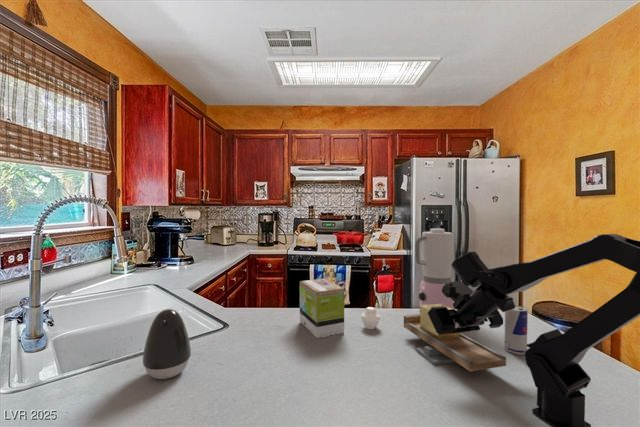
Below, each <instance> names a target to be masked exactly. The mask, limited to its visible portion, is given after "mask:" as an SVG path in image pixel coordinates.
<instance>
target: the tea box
mask: <svg viewBox="0 0 640 427" xmlns="http://www.w3.org/2000/svg"><path fill="white" fill-rule="evenodd" d="M299 323H301V324H302V325H303V326H304V327H305V328H306V329H307V330H308V331H309V332H310V333H311V334H312V335H313V336H314V338H316V339H320V338H319V337H322V338H325V337H324V336H328V337H331V336H330V335H333V336H336V335H335V334H338V335H342V334H344V333H345V287H342V286H340V285H338V284H336V283H335V282H332V281H330V280H329V279H326V278H317V279H309V280H308V279H307V280H300V281H299ZM341 333H342V334H341Z"/></svg>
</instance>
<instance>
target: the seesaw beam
mask: <svg viewBox="0 0 640 427" xmlns="http://www.w3.org/2000/svg"><path fill="white" fill-rule="evenodd" d="M403 328H405V329H406V330H408V331H409V332H411V333H412V334H413V335H415V336H416V337H418V338H420V339H421V340H423V341H424V342H426V343H427V344H428V345H429V346H433V347H434V348H436V349H437V350H439V351H440V352H442V353H443V354H445V355H446V356H448V357H449V358H451V359H452V360H454V361H455V362H454V363H457V364H459V365H460V366H461V367H463V368H464V369H466V370H467V371H468V372H469V373H470V372H471V373H472V372H474V371H475V372H476V371H481V370H487V369H488V370H489V369H495V368H501V367H506V366H507V357H506V356H504V355H502V354H501V353H499V352H497V351H495V350H494V349H491V348H490V347H488V346H486V345H484V344H482V343H480V342H478V341H476V340H474V339H473V338H471V337H469V336H467V335H465V334H464V333H462V332H461V333H460V338H453V339H445V340H437V339H435V338H434V337H432V336H430V335H429V334H427V333H426V332H424V331H422V330H421V329H420V313H418V314H409V315H408V314H406V315H403Z"/></svg>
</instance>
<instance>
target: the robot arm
mask: <svg viewBox="0 0 640 427" xmlns="http://www.w3.org/2000/svg"><path fill="white" fill-rule="evenodd" d="M606 260H607V261H610V262H613V263H615V264H617V265H619V266H621V267H623V268H624V269H625V268H626V269H628V270H629V271H632V272H635V274H634V275H633V278H632V279H631V281H629V283H628V285H627V286H626V287H625V288H624V289H623V290H622V291H620V292H619V293H618V294H616V295H614V296H613V297H612V298H611V299H609V300H608V301H605V303H604V304H602V305H601V306H599V307H598V308H597V309H595V310H594V311H593V312H591V313H590V314H589V315H587V316H586V317H584V318H583V319H582V320H580V321H579V322H577V323H576V324H575V325H573V326H572V327H570V328H569V329H567V330H566V331H565V332H563V333H562V332H561V331H560V329H559V328H555V329H553V330H550V331H547V332H544V333H541V334H540V335H539V336H538V337H537V338H536V339H535V340H534V341H533V342H530V343H527V345H526V346H527V351H526V352H525V354H524V358H525V363H526V365H527V368H529V371H530V374H531V377H532V380H533V383H534V386H535V387H536V407H535V408H532V413H533V414H534V415H536V416H537V417H539V418H540V419H542V420H543V421H545V422H547V423H548V424H549V425H551V426H552V427H592V424H591V423H590V422H588V421H586V419H585V417H586V416H585V415H586V411H585V410H586V409H585V408H586V395H585V394H584V393H582V392H581V390H583V389H585V388H587V387H588V386H589V384H590V383H591V380H592V379H591V377H590V376H589V374H588V373H587V372H586V371H585V370H584V369H583V367H582V366H581V365H580V364H579V363H580V362H581V361H582V360H583V358H584V357H585V355H586V354H587V352H588V351H589V350H590V349H591V348H593V347H594V346H597V344H599V343H601V342H602V341H604V340H605V339H606V338H608V337H609V336H612V335H613V334H614V333H616V332H618V331H620V330H621V329H622V328H624V327H625V326H627V325H629V324H630V323H632V322H634V321H635V320H637V318H639V317H640V240H636V239H633V238H629V237H626V236H623V235H620V234H618V233H605V234H603V233H602V234H598V235H595V236H594V237H593V238H591V239H588V240H585V241H583V242H579V243H577V244H574V245H572V246H570V247H567V248H563V249H560V250H559V251H555V252H552V253H550V254H547V255H544V256H542V257H539V258H536V259H534V260H531V261H526V262H520V263H513V264H507V265H501V266H496V267H495V268H494V267H493V268H488V267H487V266H486V264H485V263H484V261H483V260H482V259H481V257H480V256H479V254H478V253H477V252H476V251H469V252H467V253H466V254H464V255H462V256H460V257H459V258H457V259H454V260H453V263H452V264H451V266H452V269H453V271H454V272H455V273H456V275H457V276H458V278H459V279H460V280H458V281H457V280H456V281H451V282H449V283H446V284H445V285H444V286H443V288H442V293H443V294H444V295H445V296H446V297H447V298H451V299H452V300H453V301H454V303H453V306H454V309H451V310H448V309H447V307H444V306H437V307H431V308H430V310H429V311H428V315H429V317H430V319H431V322H432V324H433V326H434V328H435V330H436V333H438V334H439V335H440V334H448V333H449V334H452V333H461V334H462V333H468V332H476V331H480V330H481V327H480V326H483V325H484V324H485V322H489V323H490V324H488V326H489V328H490V329H495V328H496V329H497V328H500V327H501V326H503V325H504V318H503V316H502V315H501V313H500V312H502V313H505V312H506V311H509V310H512V309H515V306H516V304H515V302H514V298H513V297H511V296H509V294H516V293H521V292H524V291H525V292H526V291H527V290H529V289H531V288H533V287H535V286H537V285H538V284H541V282H543V281H544V280H546V279H549V278H550V277H553V276H556V275H560V274H563V273H567V272H570V271H573V270H577V269H579V268H584V267H587V266H589V265H592V264H593V265H594V264H595V263H599V262H603V261H606ZM469 286H471V287H469ZM472 288H476V289H475V290H474V291H473V290H472ZM498 308H499V309H500V311H499V310H498Z"/></svg>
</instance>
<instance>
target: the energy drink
mask: <svg viewBox="0 0 640 427" xmlns="http://www.w3.org/2000/svg"><path fill="white" fill-rule="evenodd" d="M528 313H529V312H528V309H527V308H526V307H523V306H519V305H515V309H512V310H509V311H506V312H504V346H503V347H504V349H505V351H506V352H508V353H510V354H514V355H518V356H519V355H520V356H522V355H524V356H525V352H526V351H527V349H528V347H527V346H526V345H527V344H528Z"/></svg>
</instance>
